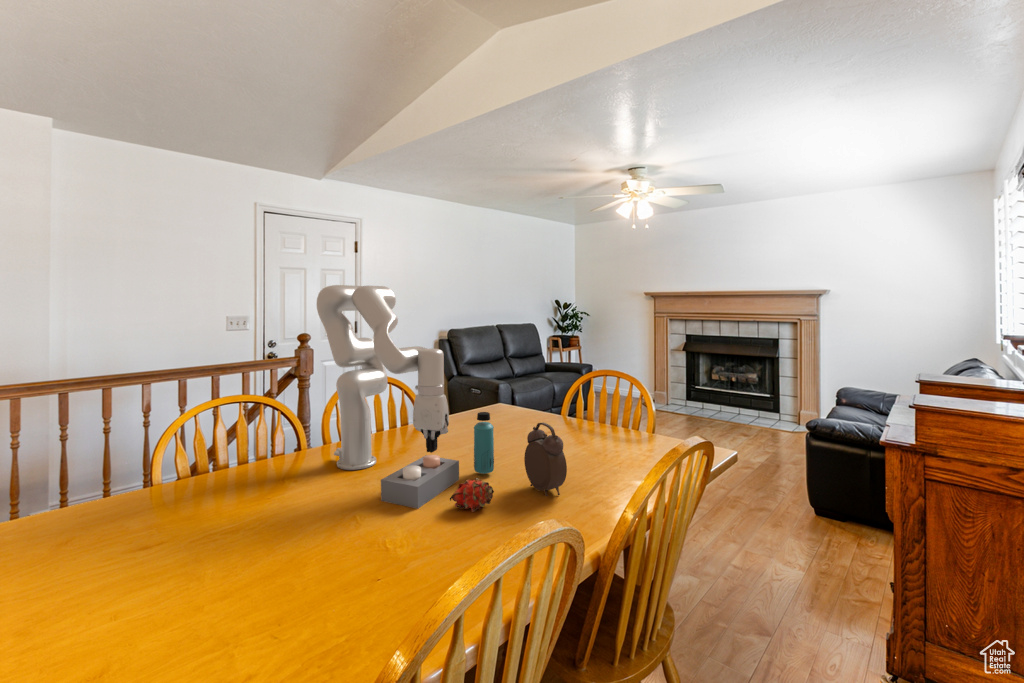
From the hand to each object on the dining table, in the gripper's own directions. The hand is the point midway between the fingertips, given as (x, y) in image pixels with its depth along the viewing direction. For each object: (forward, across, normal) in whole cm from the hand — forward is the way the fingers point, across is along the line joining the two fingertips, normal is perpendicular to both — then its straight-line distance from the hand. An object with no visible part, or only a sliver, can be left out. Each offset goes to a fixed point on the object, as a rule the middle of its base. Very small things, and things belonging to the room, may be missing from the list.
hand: (431, 450), depth 140 cm
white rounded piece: (+6, 0, -10) cm, 12 cm away
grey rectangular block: (+10, 0, -5) cm, 11 cm away
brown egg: (+6, 0, 0) cm, 6 cm away
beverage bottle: (+10, +11, +13) cm, 20 cm away
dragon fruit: (+10, +19, -10) cm, 24 cm away
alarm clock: (+10, +33, +9) cm, 36 cm away
